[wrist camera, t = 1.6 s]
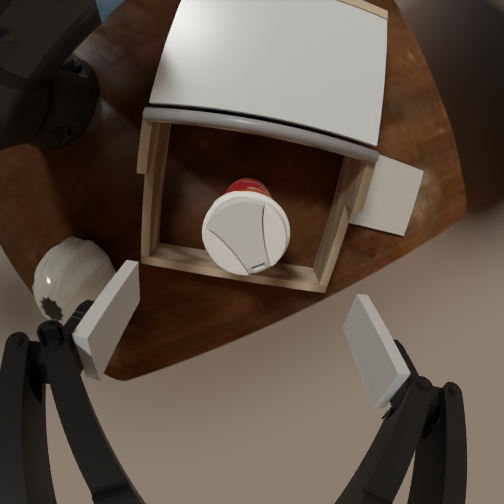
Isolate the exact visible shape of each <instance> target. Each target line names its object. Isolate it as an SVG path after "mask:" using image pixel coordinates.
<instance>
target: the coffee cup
mask: <svg viewBox="0 0 504 504" xmlns="http://www.w3.org/2000/svg"><path fill="white" fill-rule="evenodd" d="M202 238H203V242H204V246H205V248H206V250H207V252H208V253H209V255H210V256H211V257H212V259H213V260H214V261H215V262H216V264H218V265H219V266H220V267H221V268H223V269H225V270H226V271H229V272H231V273H234V274H238V275H249V274H251V273H257V272H260V271H263V270H265V269H267V268H269V267H270V266H273V265H274V264H276V263H277V261H278V260H279V259H280V258H281V257H282V256H283V254H284V252H285V251H286V249H287V246H288V244H289V239H290V226H289V222H288V219H287V216H286V214H285V212H284V211H283V210H282V208H281V207H280V206H279V205H278V204H277V203H276V202H275V201H274V200H273V198H272V196H271V195H270V193H269V191H268V190H267V188H266V187H265V186H264V185H263V184H262V183H261V182H260V181H258V180H256V179H254V178H241V179H239V180H237V181H235V182H234V183H232V184H231V185H230V187H229V188H228V189H227V190H226V192H225V193H224V195H223V196H221V197H220V198H218V199H217V200H216V201H215V202H214V203H213V205H212V207H211V208H210V210H209V211H208V212H207V214H206V217H205V219H204V222H203V227H202Z"/></svg>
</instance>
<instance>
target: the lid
mask: <svg viewBox="0 0 504 504" xmlns="http://www.w3.org/2000/svg"><path fill="white" fill-rule="evenodd" d="M387 19H388V11H386V10H384V9H382V8H379V7H377V6H375V5H372V4H370V3H367V2H365V1H362V0H181V2H180V5H179V7H178V10H177V13H176V15H175V18H174V21H173V23H172V26H171V29H170V32H169V35H168V38H167V41H166V44H165V47H164V50H163V53H162V56H161V60H160V63H159V66H158V70H157V73H156V77H155V81H154V85H153V88H152V92H151V96H150V101H149V103H151V104H160V105H175V106H187V107H197V108H206V109H214V110H221V111H229V112H235V113H241V114H247V115H253V116H259V117H264V118H269V119H274V120H279V121H284V122H288V123H293V124H297V125H301V126H305V127H309V128H313V129H317V130H321V131H325V132H328V133H332V134H335V135H339V136H342V137H346V138H349V139H352V140H355V141H358V142H362V143H365V144H368V145H371V146H377V142H378V135H379V127H380V120H381V112H382V103H383V93H384V81H385V68H386V48H387ZM143 119H144V120H159V121H172V122H182V123H192V124H201V125H209V126H216V127H223V128H230V129H236V130H242V131H248V132H254V133H259V134H264V135H270V136H275V137H279V138H284V139H289V140H293V141H298V142H302V143H306V144H310V145H314V146H318V147H322V148H326V149H330V150H333V151H337V152H340V153H344V154H347V155H351V156H354V157H357V158H361V159H364V160H367V161H370V162H373V163H376V162H377V161H378V158H379V152H378V151H375V150H372V149H369V148H366V147H363V146H360V145H357V144H354V143H350V142H347V141H344V140H340V139H337V138H333V137H330V136H326V135H323V134H319V133H315V132H311V131H307V130H303V129H299V128H294V127H290V126H285V125H281V124H276V123H271V122H266V121H261V120H255V119H250V118H244V117H238V116H231V115H225V114H217V113H210V112H201V111H192V110H181V109H169V108H153V107H145V108H144V111H143Z"/></svg>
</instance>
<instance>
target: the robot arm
mask: <svg viewBox="0 0 504 504" xmlns="http://www.w3.org/2000/svg"><path fill="white" fill-rule="evenodd" d="M124 1H125V0H0V150H2V149H6V148H9V147H13V146H17V145H20V144H25V143H26V144H29V145H32V146H36V147H39V148H42V149H55V148H59V147H63V146H66V145H68V144H70V143H72V142H73V141H75V140H76V139H77V138H78V137H79V136H80V135H81V134H82V133H83V131H84V130H85V129H86V127H87V126H88V124H89V122H90V120H91V118H92V116H93V113H94V110H95V107H96V102H97V95H98V85H97V79H96V76H95V73H94V71H93V69H92V68H91V66H90V65H89V64H88V63H87V62H85V61H84V60H81V59H78V58H75V57H70V55H71V54H72V52H73V51H74V50H75V49H76V48H77V47H78V46H79V45H80V44H81V43H82V42H83V41H84V40H85V39H86V38H87V37H88V36H89V34H91V33H92V32H93V31H94V30H95V29H96V28H97V27H98V26H99V25H100V24H101V25H102V24H103V23H104V22H105V19H106V18H107V17H108V16H109V15H110V14H111V13H112V12H113V11H114V10H115V9H116V8H117V7H118V6H119V5H121V4H122V3H123V2H124ZM139 302H140V291H139V263H138V262H136V261H130V260H126V261H125V263H124V264H123V265H122V266H121V268H120V269H119V270H118V271H117V273H116V274H115V275H114V277H113V278H112V279H111V280H110V282H109V283H108V284H107V286H106V287H105V288H104V290H103V291H102V292H101V294H100V295H99V296H98V298H97V299H96V301H92V300H88V299H87V300H85V301H84V302H82V303H81V304H79V306H78V307H77V308H76V310H75V312H73V314H72V315H71V317H70V318H69V319H68V320H67V322H66V323H65V325H64V326H63V325H62V323H60V322H59V321H56V320H48V321H45V322H43V323H42V324H40V325H39V327H38V329H37V335H38V338H39V340H40V342H38V341H30V340H29V338H28V336H27V334H25V333H23V332H16V333H13V334H11V335H10V336H9V337H8V339H7V341H6V345H5V349H4V353H3V358H2V363H1V369H0V504H57V503H56V499H55V494H54V488H53V483H52V477H51V471H50V463H49V455H48V446H47V434H46V411H45V410H46V408H45V394H46V392H45V391H46V383H47V384H50V386H51V390H52V394H53V397H54V401H55V404H56V408H57V411H58V414H59V417H60V420H61V423H62V426H63V429H64V432H65V434H66V437H67V440H68V443H69V445H70V448H71V450H72V453H73V455H74V457H75V459H76V462H77V464H78V466H79V469H80V471H81V473H82V475H83V477H84V479H85V481H86V483H87V485H88V487H89V489H90V491H91V494H92V500H93V502H94V504H146V503H145V502H144V500H143V499H142V498H141V496H140V495H139V493H138V492H137V490H136V489H135V487H134V486H133V484H132V482H131V481H130V479H129V478H128V476H127V474H126V473H125V471H124V469H123V467H122V466H121V464H120V462H119V460H118V459H117V457H116V455H115V453H114V451H113V450H112V447H111V446H110V444H109V442H108V440H107V438H106V436H105V434H104V431H103V429H102V427H101V425H100V423H99V421H98V418H97V416H96V415H95V412H94V409H93V407H92V404H91V402H90V400H89V397H88V395H87V392H86V389H85V387H84V384H83V381H82V378H81V376H80V374H81V372H82V370H83V369H84V372H85V375H86V376H87V377H90V378H93V379H96V380H100V379H101V377H102V375H103V373H104V371H105V369H106V366H107V364H108V362H109V360H110V358H111V356H112V354H113V352H114V350H115V348H116V346H117V344H118V342H119V340H120V338H121V336H122V334H123V332H124V330H125V328H126V326H127V324H128V322H129V320H130V318H131V316H132V315H133V313H134V311H135V309H136V307H137V305H138V303H139ZM342 329H343V331H344V334H345V336H346V339H347V342H348V344H349V347H350V350H351V352H352V355H353V357H354V360H355V363H356V366H357V368H358V371H359V374H360V377H361V379H362V382H363V385H364V388H365V391H366V394H367V396H368V399H369V402H370V405H371V408H372V409H379V408H384V407H385V406H386V405H387V404H388V402H389V401H390V403H391V405H392V407H391V408H390V409H389V410H388V411H387V412H386V413H385V415H384V416H383V417H382V419H384V418H385V419H384V421H383V423H382V425H381V427H380V429H379V431H378V433H377V435H376V437H375V439H374V441H373V443H372V444H371V446H370V448H369V450H368V452H367V454H366V455H365V457H364V459H363V461H362V462H361V464H360V466H359V467H358V469H357V471H356V472H355V474H354V476H353V477H352V479H351V480H350V482H349V483H348V485H347V486H346V488H345V489H344V491H343V492H342V494H341V495H340V497H339V498H338V499H337V501H336V502H335V504H392V502H393V500H394V498H395V496H396V494H397V492H398V490H399V488H400V486H401V484H402V481H403V479H404V477H405V475H406V472H407V470H408V467H409V465H410V462H411V460H412V457H413V455H414V452H415V461H414V468H413V475H412V481H411V487H410V493H409V498H408V503H407V504H465V498H466V482H467V441H466V425H465V414H464V405H463V397H462V392H461V389H460V388H459V386H458V385H457V384H455V383H453V382H447V383H446V384H445V385H444V386H443V388H439V387H434V386H433V385H432V383H431V382H430V381H429V380H428V379H427V378H425V377H422V376H419V375H418V373H417V371H416V369H415V367H414V365H413V363H412V362H411V360H410V359H409V356H408V355H407V354H406V351H405V349H404V347H403V345H401V344H400V343H399V341H398V340H393V339H392V337H391V335H390V333H389V332H388V330H387V328H386V326H385V325H384V323H383V321H382V319H381V317H380V316H379V314H378V313H377V311H376V309H375V307H374V305H373V304H372V302H371V300H370V299H369V297H368V295H361V294H357V295H356V298H355V300H354V302H353V305H352V307H351V309H350V312H349V314H348V316H347V319H346V321H345V323H344V325H343V328H342ZM415 449H416V451H415Z"/></svg>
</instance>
